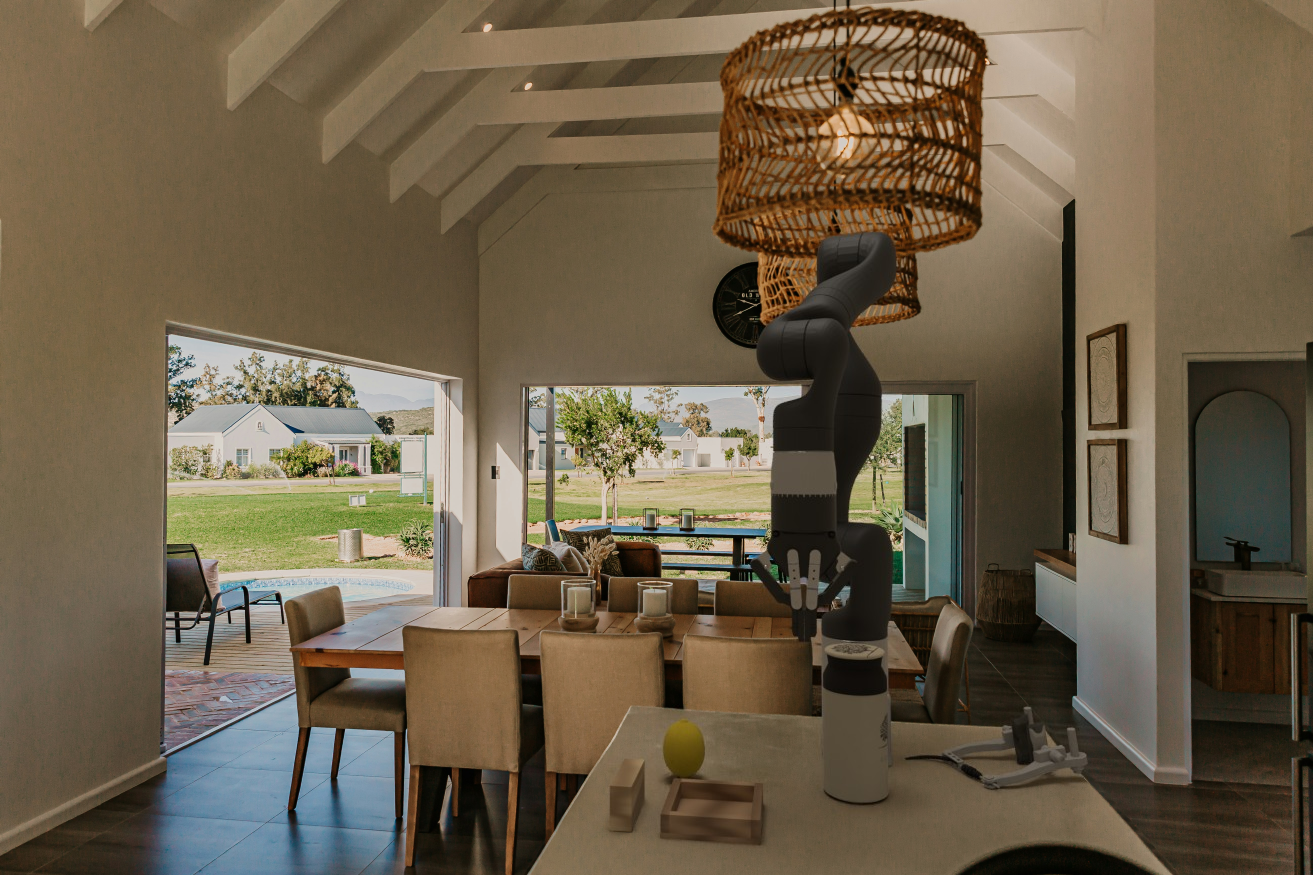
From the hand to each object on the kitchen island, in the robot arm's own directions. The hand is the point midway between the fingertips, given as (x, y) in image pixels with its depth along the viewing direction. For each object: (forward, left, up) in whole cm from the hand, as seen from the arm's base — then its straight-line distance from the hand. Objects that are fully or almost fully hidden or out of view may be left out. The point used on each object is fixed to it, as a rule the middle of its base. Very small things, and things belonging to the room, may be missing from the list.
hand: (804, 640), depth 97 cm
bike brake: (-26, -21, -22) cm, 40 cm away
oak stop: (+21, 0, -21) cm, 30 cm away
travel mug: (-7, -11, -21) cm, 25 cm away
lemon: (+15, -12, -21) cm, 29 cm away
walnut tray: (+10, 0, -22) cm, 24 cm away
